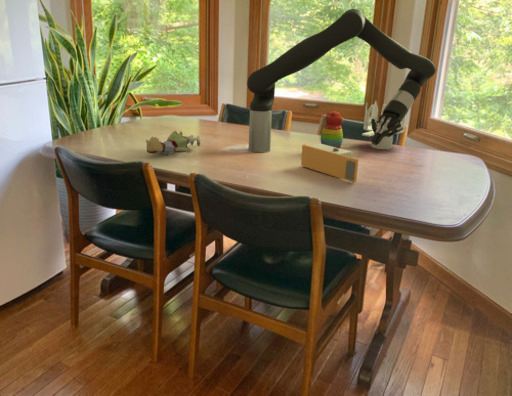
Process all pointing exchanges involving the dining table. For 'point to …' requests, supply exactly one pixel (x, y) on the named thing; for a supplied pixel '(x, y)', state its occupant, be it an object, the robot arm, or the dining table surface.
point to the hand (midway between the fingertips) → (373, 143)
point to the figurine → (171, 144)
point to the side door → (330, 163)
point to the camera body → (332, 149)
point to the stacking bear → (332, 130)
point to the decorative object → (386, 141)
